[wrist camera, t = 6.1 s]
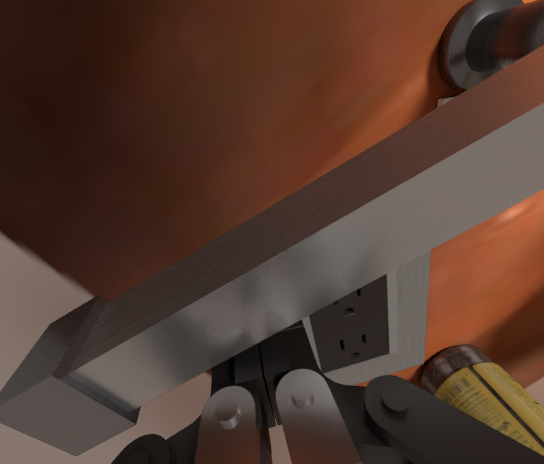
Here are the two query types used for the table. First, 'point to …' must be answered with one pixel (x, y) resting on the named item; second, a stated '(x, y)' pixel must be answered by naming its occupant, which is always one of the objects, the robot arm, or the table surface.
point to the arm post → (488, 39)
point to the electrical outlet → (374, 326)
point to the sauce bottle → (485, 394)
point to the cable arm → (285, 262)
